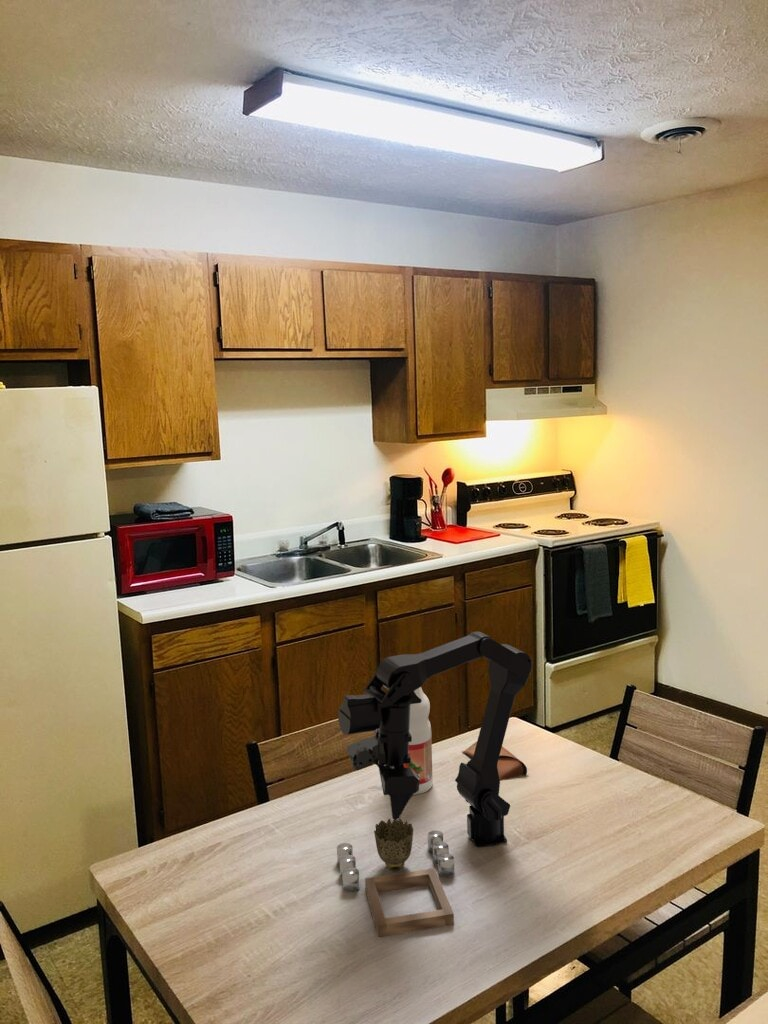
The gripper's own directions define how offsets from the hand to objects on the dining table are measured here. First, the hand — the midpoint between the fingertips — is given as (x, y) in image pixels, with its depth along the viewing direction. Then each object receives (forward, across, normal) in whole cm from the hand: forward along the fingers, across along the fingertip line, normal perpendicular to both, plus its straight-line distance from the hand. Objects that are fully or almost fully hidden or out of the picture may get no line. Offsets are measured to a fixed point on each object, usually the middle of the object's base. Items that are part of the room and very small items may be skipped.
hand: (390, 806), depth 145 cm
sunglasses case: (+10, -36, +32) cm, 49 cm away
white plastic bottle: (+11, -30, +11) cm, 34 cm away
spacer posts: (+12, 0, +1) cm, 12 cm away
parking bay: (+12, +11, +1) cm, 17 cm away
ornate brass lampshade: (+12, 0, +1) cm, 13 cm away
